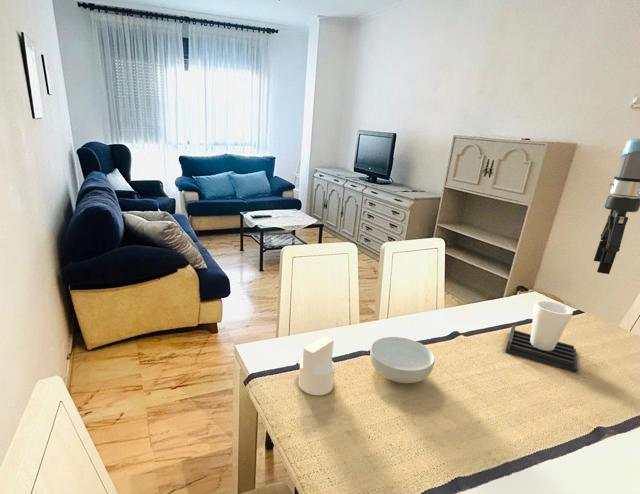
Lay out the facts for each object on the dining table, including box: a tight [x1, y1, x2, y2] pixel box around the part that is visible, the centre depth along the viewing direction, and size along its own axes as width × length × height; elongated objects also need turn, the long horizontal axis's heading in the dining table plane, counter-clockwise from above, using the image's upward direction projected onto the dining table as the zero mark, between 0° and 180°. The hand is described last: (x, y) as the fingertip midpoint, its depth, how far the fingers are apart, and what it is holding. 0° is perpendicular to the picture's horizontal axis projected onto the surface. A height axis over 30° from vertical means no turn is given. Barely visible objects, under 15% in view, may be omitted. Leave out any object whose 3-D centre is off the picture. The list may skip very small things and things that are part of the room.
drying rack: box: [504, 324, 578, 374], centre depth 119 cm, size 18×14×4 cm
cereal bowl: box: [369, 336, 436, 384], centre depth 105 cm, size 17×17×7 cm
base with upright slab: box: [298, 335, 336, 396], centre depth 98 cm, size 9×9×12 cm
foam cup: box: [530, 300, 574, 351], centre depth 117 cm, size 10×9×13 cm
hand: (600, 267), depth 116 cm, fingers open, 13 cm apart
